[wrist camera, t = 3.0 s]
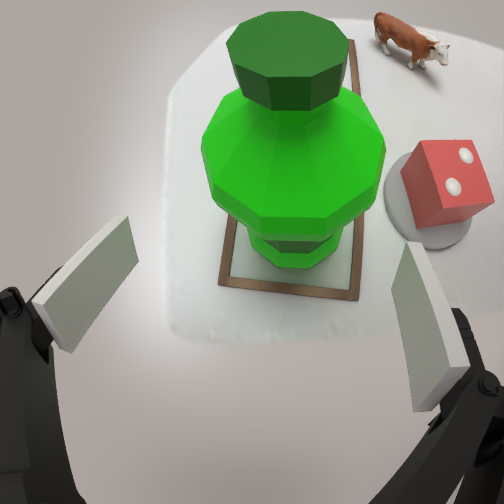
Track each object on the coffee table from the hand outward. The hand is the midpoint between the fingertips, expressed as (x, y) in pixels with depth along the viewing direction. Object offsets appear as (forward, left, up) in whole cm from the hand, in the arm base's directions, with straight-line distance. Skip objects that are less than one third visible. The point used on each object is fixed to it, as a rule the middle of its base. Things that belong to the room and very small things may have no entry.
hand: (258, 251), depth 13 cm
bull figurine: (-17, -37, -19) cm, 45 cm away
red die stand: (-17, -12, -19) cm, 28 cm away
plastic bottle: (-1, -6, -19) cm, 20 cm away
